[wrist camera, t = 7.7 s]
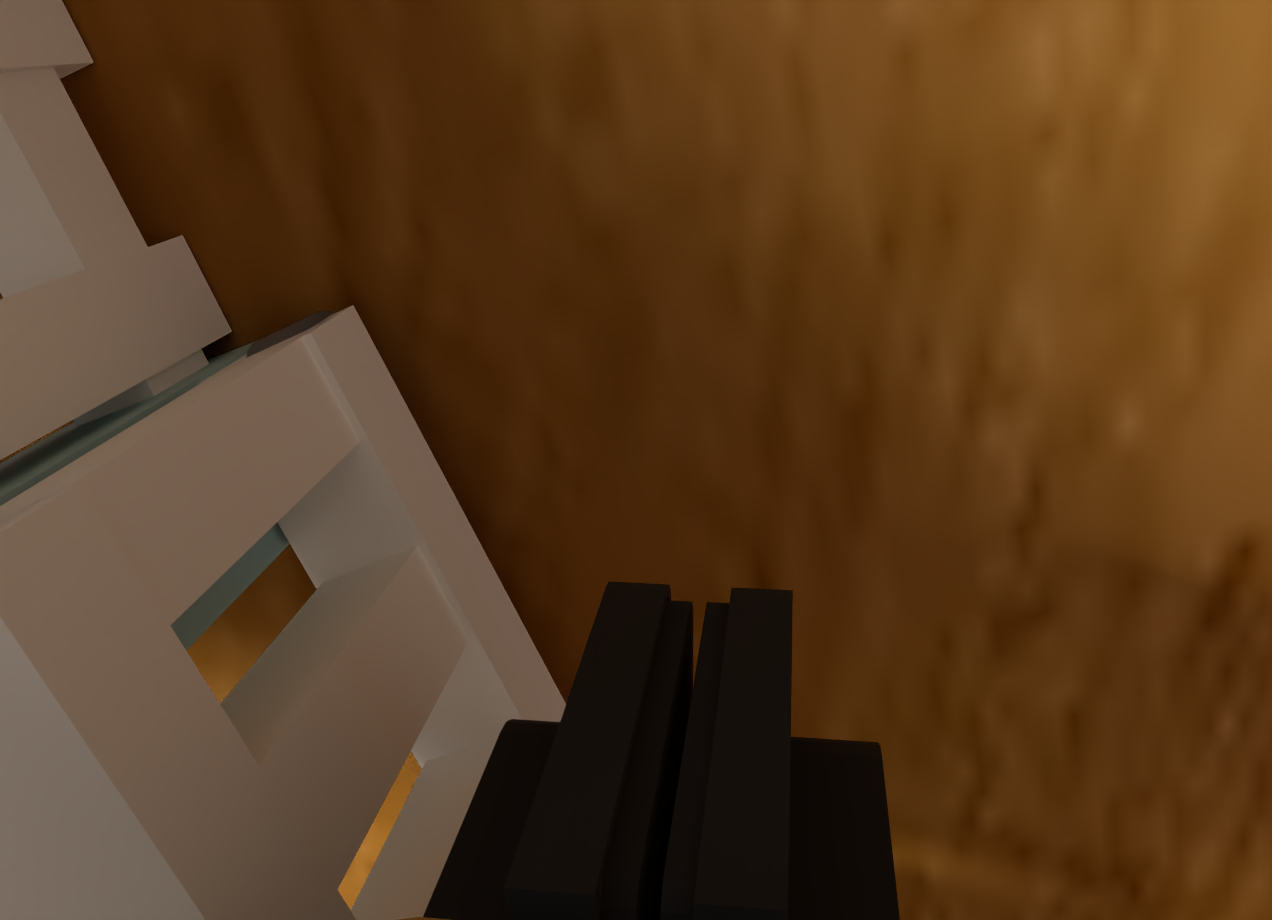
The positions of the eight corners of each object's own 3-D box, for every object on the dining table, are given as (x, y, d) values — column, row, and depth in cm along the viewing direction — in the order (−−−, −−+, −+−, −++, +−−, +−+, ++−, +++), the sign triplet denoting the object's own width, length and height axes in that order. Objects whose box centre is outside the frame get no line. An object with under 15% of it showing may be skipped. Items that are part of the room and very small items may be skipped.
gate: (746, 1014, 16) (713, 1668, 10) (655, 1037, 16) (564, 1681, 10) (363, 287, 13) (-50, 543, 7) (261, 334, 13) (-222, 621, 7)
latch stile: (345, 486, 14) (-42, 885, 8) (208, 534, 15) (-264, 947, 8) (268, 336, 14) (-218, 627, 7) (128, 391, 14) (-446, 711, 8)
